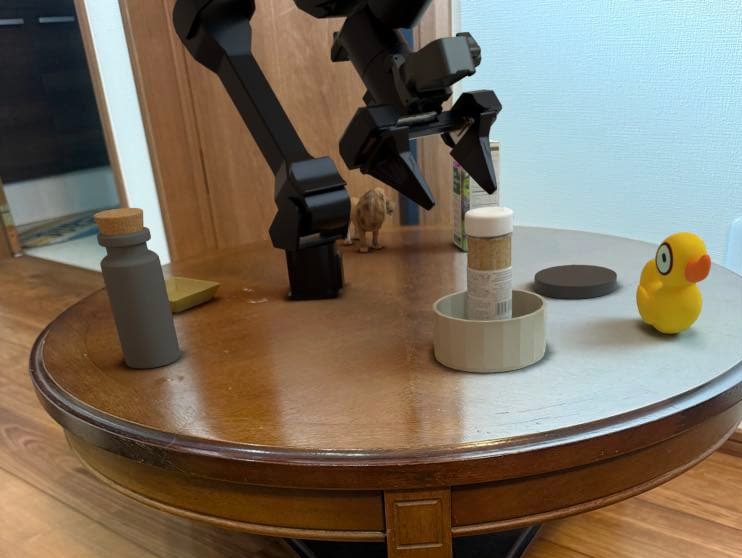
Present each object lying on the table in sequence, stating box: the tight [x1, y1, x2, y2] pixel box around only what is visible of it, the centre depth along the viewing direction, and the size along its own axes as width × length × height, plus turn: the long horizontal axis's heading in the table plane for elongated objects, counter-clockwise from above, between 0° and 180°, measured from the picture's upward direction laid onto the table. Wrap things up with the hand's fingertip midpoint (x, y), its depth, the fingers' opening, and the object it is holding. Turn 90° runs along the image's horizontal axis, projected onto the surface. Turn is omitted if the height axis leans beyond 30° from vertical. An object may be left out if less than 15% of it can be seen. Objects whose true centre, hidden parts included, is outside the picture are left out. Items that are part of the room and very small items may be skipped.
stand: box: [533, 264, 618, 300], centre depth 99 cm, size 10×10×2 cm
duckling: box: [635, 231, 712, 335], centre depth 81 cm, size 11×5×10 cm, turn 11°
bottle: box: [93, 207, 181, 369], centre depth 82 cm, size 6×6×15 cm
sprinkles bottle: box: [465, 206, 514, 321], centre depth 78 cm, size 5×5×13 cm
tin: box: [432, 288, 548, 374], centre depth 81 cm, size 11×11×5 cm
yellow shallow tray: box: [164, 276, 221, 314], centre depth 104 cm, size 9×9×2 cm
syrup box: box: [452, 138, 501, 252], centre depth 118 cm, size 6×6×14 cm
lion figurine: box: [343, 187, 397, 253], centre depth 123 cm, size 15×5×9 cm, turn 33°
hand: (464, 199), depth 81 cm, fingers open, 9 cm apart
